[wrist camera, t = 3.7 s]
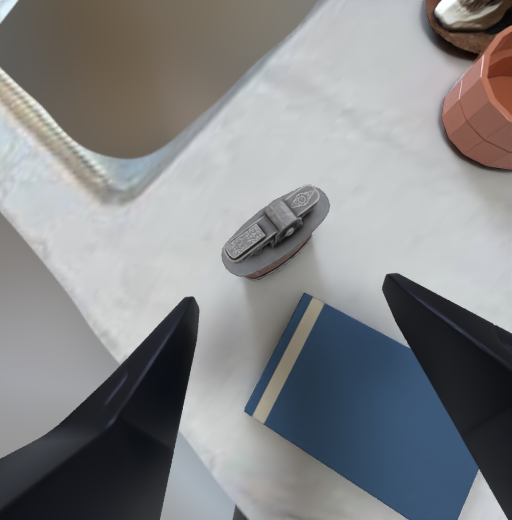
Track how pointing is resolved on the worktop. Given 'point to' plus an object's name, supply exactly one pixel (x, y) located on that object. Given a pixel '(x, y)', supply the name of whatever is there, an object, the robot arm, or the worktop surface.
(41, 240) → the worktop surface
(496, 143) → the bowl
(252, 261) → the vintage table igniter
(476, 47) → the skull
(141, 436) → the robot arm
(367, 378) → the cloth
